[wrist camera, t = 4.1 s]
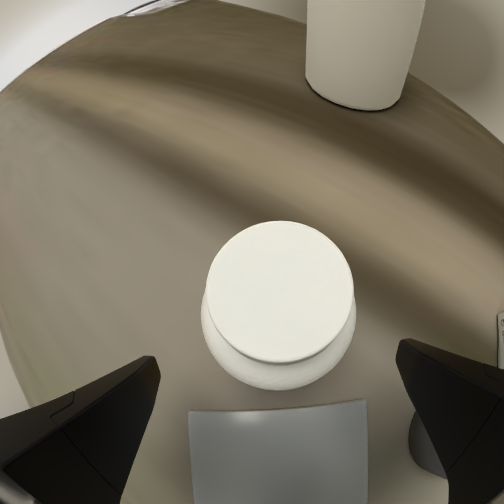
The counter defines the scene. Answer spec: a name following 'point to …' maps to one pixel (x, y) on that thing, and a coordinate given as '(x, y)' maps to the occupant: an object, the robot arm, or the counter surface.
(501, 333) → the skincare box
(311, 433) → the grey flat square piece
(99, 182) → the counter surface
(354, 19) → the white jar
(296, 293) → the supplement bottle
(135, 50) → the counter surface
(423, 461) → the dark grey thick disc
